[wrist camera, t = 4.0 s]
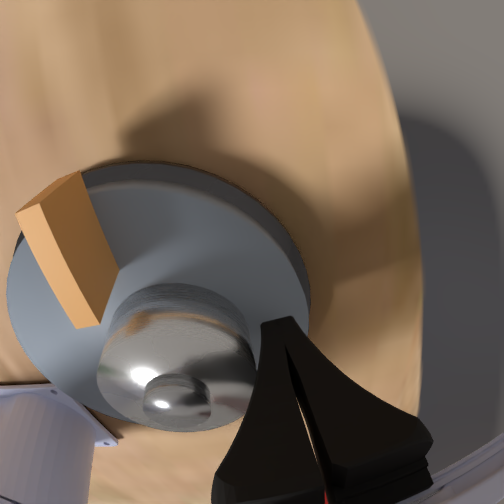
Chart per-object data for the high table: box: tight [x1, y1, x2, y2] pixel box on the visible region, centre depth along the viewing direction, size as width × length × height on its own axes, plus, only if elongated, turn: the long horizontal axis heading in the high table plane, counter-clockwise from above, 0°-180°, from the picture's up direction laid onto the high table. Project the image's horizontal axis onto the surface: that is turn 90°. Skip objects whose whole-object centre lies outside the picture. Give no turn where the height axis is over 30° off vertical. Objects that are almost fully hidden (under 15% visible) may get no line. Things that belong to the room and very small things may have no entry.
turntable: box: [6, 170, 309, 424], centre depth 12 cm, size 15×14×4 cm
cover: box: [97, 283, 257, 432], centre depth 11 cm, size 6×6×4 cm
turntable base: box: [13, 161, 311, 314], centre depth 15 cm, size 15×15×1 cm
